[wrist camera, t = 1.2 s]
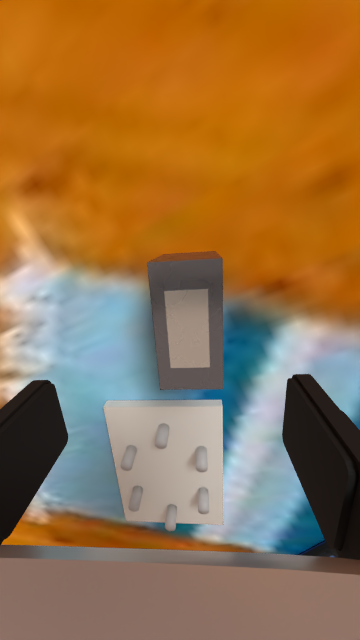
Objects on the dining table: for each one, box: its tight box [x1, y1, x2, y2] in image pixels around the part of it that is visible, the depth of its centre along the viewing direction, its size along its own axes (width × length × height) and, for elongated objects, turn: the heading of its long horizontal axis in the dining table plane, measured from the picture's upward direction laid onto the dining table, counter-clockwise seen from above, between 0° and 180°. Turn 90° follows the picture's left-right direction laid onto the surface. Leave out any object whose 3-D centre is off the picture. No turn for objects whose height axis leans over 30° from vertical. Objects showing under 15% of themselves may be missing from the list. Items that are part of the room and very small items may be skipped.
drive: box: [147, 251, 223, 390], centre depth 21 cm, size 5×10×8 cm, turn 4°
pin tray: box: [103, 400, 223, 531], centre depth 31 cm, size 14×20×4 cm
